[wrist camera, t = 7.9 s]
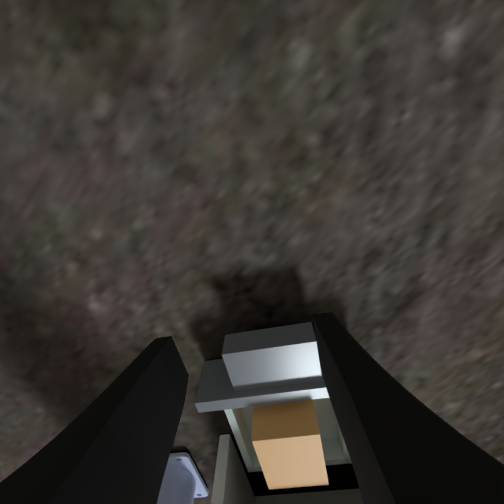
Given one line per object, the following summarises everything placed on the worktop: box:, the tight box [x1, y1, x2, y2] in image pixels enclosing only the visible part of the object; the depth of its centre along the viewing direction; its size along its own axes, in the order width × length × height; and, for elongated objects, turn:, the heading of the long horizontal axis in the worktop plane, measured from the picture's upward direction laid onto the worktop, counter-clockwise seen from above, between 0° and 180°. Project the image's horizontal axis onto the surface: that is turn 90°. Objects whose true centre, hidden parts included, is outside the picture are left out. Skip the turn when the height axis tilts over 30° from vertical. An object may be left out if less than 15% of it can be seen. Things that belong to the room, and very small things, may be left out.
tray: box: [194, 322, 352, 472], centre depth 20 cm, size 12×15×4 cm
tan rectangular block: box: [252, 400, 329, 489], centre depth 20 cm, size 4×6×4 cm
